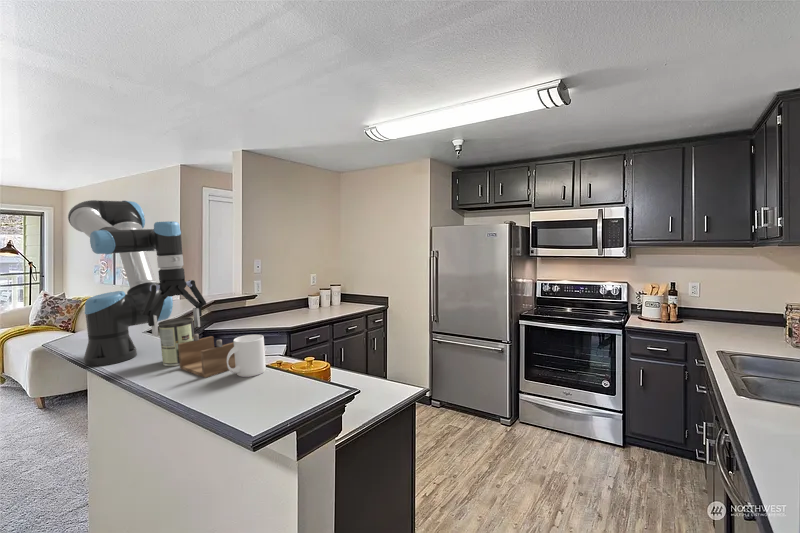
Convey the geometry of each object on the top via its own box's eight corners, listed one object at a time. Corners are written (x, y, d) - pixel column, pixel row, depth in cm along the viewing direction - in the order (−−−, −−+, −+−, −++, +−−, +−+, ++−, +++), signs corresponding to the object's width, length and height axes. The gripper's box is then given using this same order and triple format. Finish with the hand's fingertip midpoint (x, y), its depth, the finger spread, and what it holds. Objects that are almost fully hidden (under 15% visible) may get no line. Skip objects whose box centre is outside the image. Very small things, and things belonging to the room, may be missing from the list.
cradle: (180, 368, 131) (177, 338, 130) (213, 358, 139) (210, 330, 138) (205, 377, 121) (202, 345, 120) (239, 367, 130) (236, 336, 129)
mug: (219, 378, 120) (216, 342, 119) (254, 366, 130) (252, 333, 129) (236, 383, 115) (233, 346, 114) (271, 370, 125) (269, 336, 124)
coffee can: (175, 356, 144) (171, 317, 142) (202, 356, 143) (199, 317, 141) (155, 366, 134) (150, 324, 132) (184, 366, 132) (180, 324, 131)
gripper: (133, 272, 123) (140, 341, 125) (213, 264, 143) (218, 324, 144) (124, 271, 128) (131, 338, 129) (202, 264, 147) (207, 322, 149)
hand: (177, 330), depth 137 cm, fingers open, 13 cm apart
